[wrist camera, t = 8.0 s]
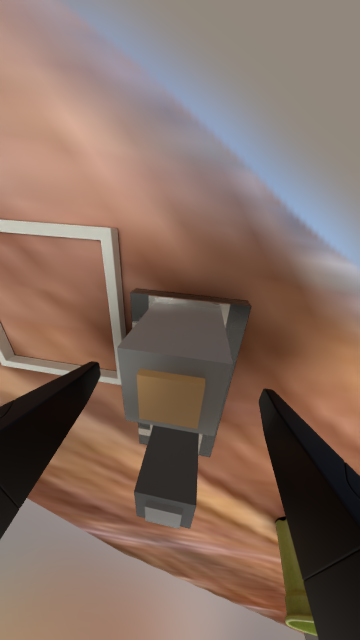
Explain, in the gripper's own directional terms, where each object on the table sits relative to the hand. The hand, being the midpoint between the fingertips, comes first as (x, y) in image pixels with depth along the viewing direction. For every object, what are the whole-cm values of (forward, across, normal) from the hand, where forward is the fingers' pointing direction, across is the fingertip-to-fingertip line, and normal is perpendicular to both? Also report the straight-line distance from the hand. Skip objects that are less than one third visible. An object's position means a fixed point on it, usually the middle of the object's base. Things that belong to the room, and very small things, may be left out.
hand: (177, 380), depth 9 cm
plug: (+5, 0, 0) cm, 5 cm away
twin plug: (+5, 0, +14) cm, 15 cm away
